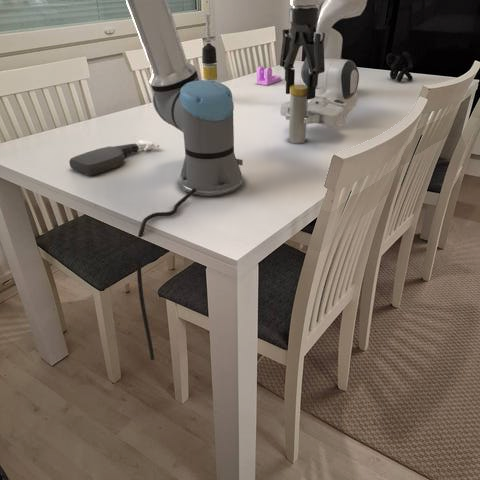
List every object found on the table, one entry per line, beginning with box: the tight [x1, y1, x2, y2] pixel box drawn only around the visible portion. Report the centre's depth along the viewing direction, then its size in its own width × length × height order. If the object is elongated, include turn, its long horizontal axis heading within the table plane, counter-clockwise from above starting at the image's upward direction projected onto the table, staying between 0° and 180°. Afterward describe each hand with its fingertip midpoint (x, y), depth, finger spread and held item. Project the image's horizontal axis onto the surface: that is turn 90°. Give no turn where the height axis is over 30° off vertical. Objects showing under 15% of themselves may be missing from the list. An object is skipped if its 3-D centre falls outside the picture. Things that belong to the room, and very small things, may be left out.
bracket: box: [256, 66, 282, 86], centre depth 200 cm, size 13×6×7 cm, turn 143°
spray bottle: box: [68, 139, 160, 177], centre depth 124 cm, size 3×11×24 cm
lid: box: [289, 84, 307, 96], centre depth 128 cm, size 6×6×2 cm
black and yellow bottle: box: [201, 14, 218, 82], centre depth 171 cm, size 6×6×30 cm
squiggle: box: [385, 51, 414, 83], centre depth 198 cm, size 11×10×15 cm
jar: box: [288, 94, 309, 144], centre depth 132 cm, size 5×5×16 cm
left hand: (300, 95), depth 129 cm, fingers open, 8 cm apart
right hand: (296, 119), depth 131 cm, fingers closed on jar, 5 cm apart
